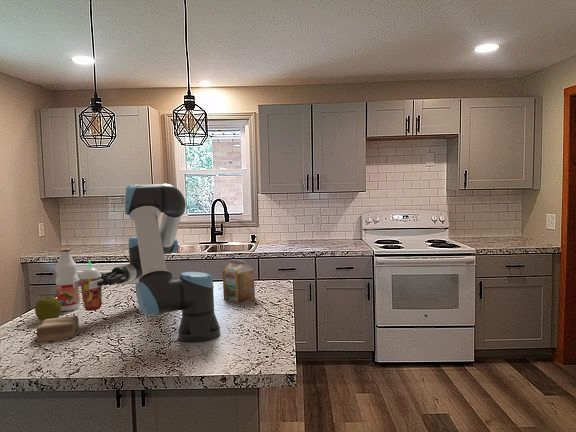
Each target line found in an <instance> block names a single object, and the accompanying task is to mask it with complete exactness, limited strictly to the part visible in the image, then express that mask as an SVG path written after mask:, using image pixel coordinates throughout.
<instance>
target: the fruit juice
mask: <svg viewBox="0 0 576 432" xmlns="http://www.w3.org/2000/svg"><path fill="white" fill-rule="evenodd" d="M71 252H72V249H71V248H70V247H68V248H67V247H63V248H59V249H58V253H59V257H58V261H57V262H56V265H55V268H54V270H55V273H56V277H55V287H56V289H55V290H56V299H58V300H59V302H60V304H61V312H69V311H74V310H77V309H79V308H81V296H80V287H77V288H73V281H76V280H79V276H78V274H77V272H78V265H77V262H76V261H75V260H74V259H73V257H72V254H71Z"/></svg>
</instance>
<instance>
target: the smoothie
mask: <svg viewBox="0 0 576 432" xmlns="http://www.w3.org/2000/svg"><path fill="white" fill-rule="evenodd" d="M101 276H102V275H101V271H99V270H98V269H97V268H94V267H92V263H91V260H88V267H87V268H86V269H84V270H83V271H82V272H81V274H80V276H79V280H80V283H81V286H80V290H81V291H80V292H81V299H82V303H83V305H82V306H83V308H84V310H85V311H86V312H92V311H93V312H95V311H98V310H100V309H101V306H102V304H103V303H102V299H103V298H102V294H103V293H102V292H103V291H102V290H103V289H102V287H103V286H101V287H97V288H94V289H89V282H93V281H96V280H100V279H102V277H101Z"/></svg>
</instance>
